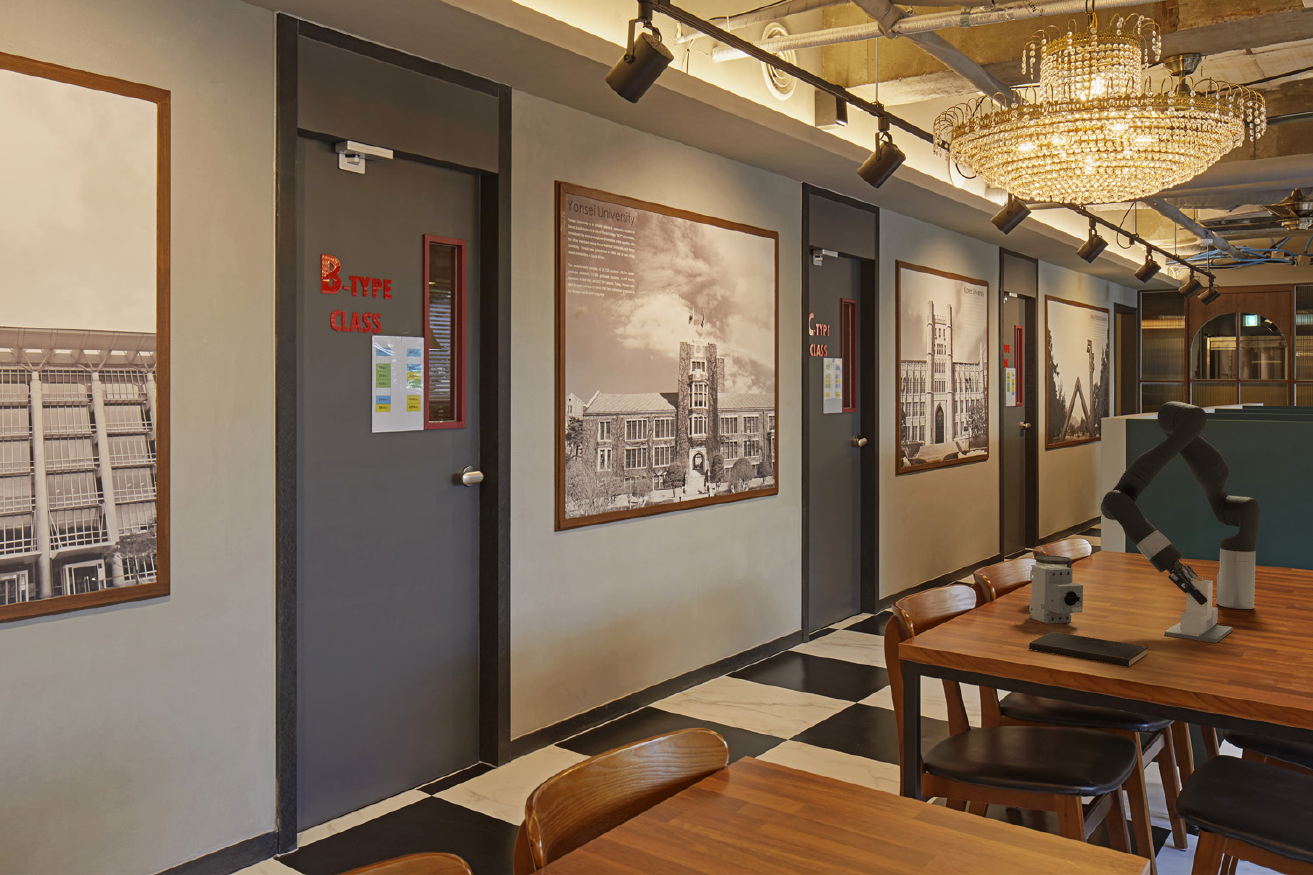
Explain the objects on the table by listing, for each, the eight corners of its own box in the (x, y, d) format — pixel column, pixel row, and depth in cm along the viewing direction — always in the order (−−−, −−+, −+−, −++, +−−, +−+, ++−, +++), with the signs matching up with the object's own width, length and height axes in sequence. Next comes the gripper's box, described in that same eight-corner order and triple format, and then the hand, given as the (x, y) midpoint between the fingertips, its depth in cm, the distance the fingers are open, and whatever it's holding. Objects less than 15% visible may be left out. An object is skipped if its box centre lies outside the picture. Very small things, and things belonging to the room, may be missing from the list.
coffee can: (1053, 599, 299) (1054, 554, 298) (1078, 606, 289) (1080, 559, 289) (1027, 601, 295) (1028, 556, 294) (1052, 608, 285) (1053, 561, 285)
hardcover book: (1051, 640, 250) (1052, 631, 249) (1148, 656, 234) (1148, 646, 234) (1028, 651, 238) (1029, 642, 238) (1128, 669, 222) (1128, 659, 222)
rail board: (1182, 623, 267) (1183, 602, 266) (1232, 630, 259) (1232, 609, 258) (1164, 635, 253) (1165, 613, 253) (1216, 643, 245) (1216, 620, 245)
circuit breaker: (1062, 628, 260) (1064, 573, 259) (1029, 617, 274) (1030, 564, 273) (1086, 627, 262) (1087, 572, 261) (1051, 615, 276) (1053, 563, 275)
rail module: (1190, 614, 259) (1192, 574, 259) (1211, 617, 256) (1213, 576, 256) (1185, 617, 256) (1187, 576, 255) (1206, 620, 252) (1208, 579, 252)
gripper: (1162, 545, 255) (1212, 596, 247) (1177, 539, 265) (1225, 589, 258) (1140, 562, 259) (1189, 614, 251) (1156, 556, 269) (1202, 605, 262)
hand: (1207, 601), depth 254 cm, fingers closed on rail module, 5 cm apart
